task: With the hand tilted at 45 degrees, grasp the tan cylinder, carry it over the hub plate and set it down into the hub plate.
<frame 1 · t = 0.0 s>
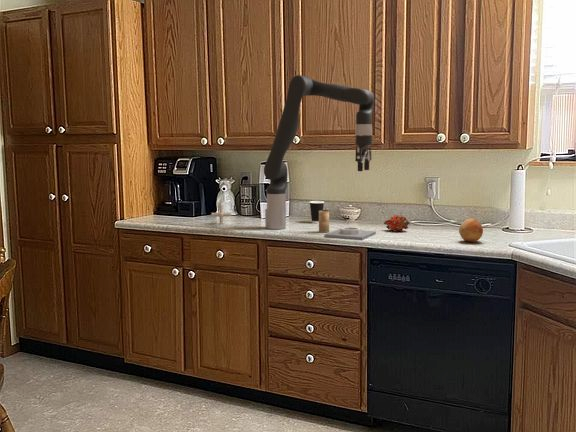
hand: (363, 170, 272), 29 cm above the countertop, tool pointing down, fingers open, 8 cm apart
hub plate: (350, 235, 273), on the countertop
pipe connector: (221, 224, 312), on the countertop
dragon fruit: (396, 231, 285), on the countertop
onion: (470, 242, 255), on the countertop
tan cylinder: (323, 232, 284), on the countertop
dixie cup: (316, 223, 315), on the countertop
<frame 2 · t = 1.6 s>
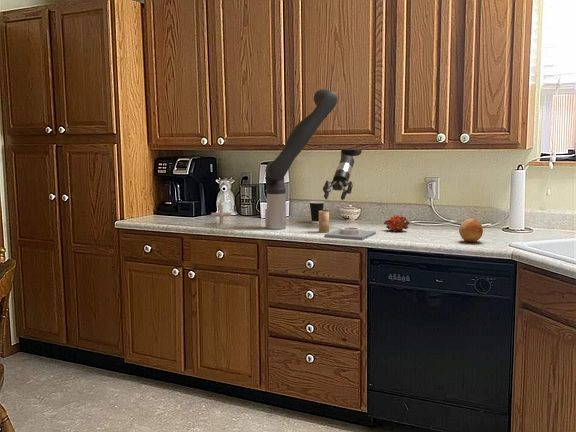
hand: (333, 198, 292), 15 cm above the countertop, tool tilted 45°, fingers open, 8 cm apart
nothing on the countertop moved.
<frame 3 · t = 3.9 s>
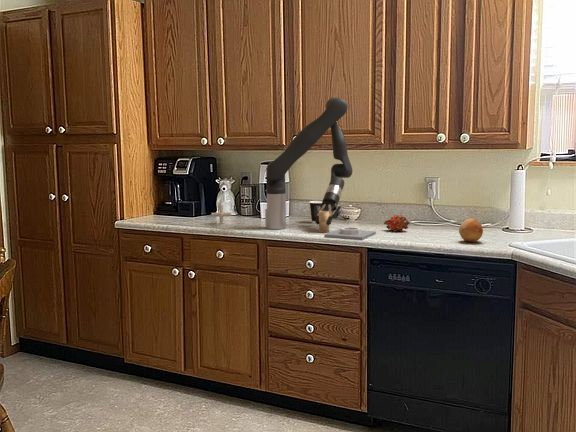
hand: (322, 223, 282), 4 cm above the countertop, tool tilted 45°, fingers closed on tan cylinder, 5 cm apart
tan cylinder: (323, 232, 284), on the countertop, touching gripper
everything else where it was.
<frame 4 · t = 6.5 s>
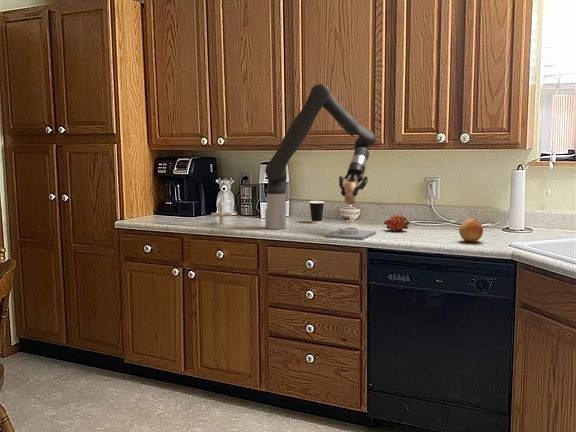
hand: (348, 195, 270), 19 cm above the countertop, tool tilted 45°, fingers closed on tan cylinder, 4 cm apart
tan cylinder: (350, 203, 273), point 14 cm above the countertop, touching gripper
everything else where it was.
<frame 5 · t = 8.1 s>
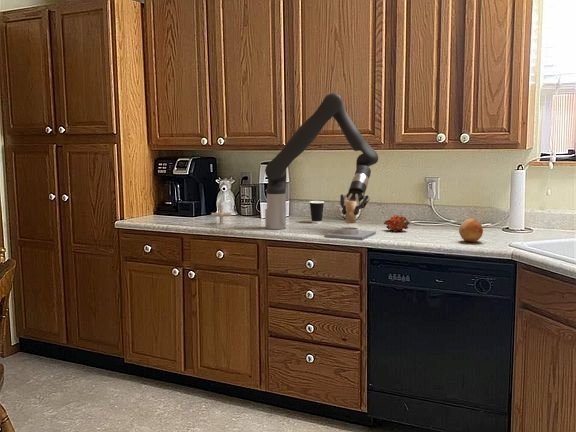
hand: (349, 213, 270), 10 cm above the countertop, tool tilted 45°, fingers closed on tan cylinder, 4 cm apart
tan cylinder: (351, 222, 273), point 6 cm above the countertop, touching gripper
everything else where it was.
when the fingers open (8 cm above the countertop, at t = 9.1 s): tan cylinder drops 2 cm, resting on hub plate.
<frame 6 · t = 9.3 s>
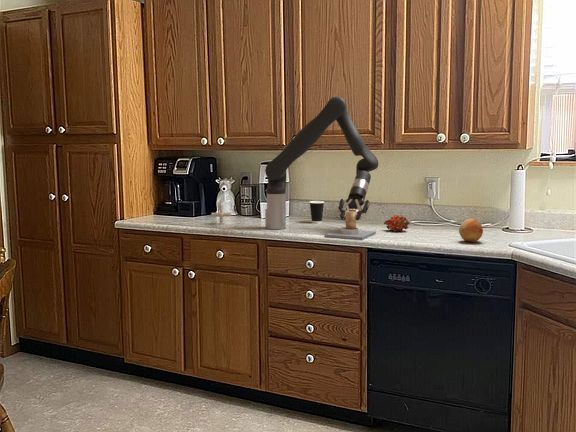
hand: (349, 218, 271), 8 cm above the countertop, tool tilted 45°, fingers open, 6 cm apart
tan cylinder: (350, 232, 273), point 1 cm above the countertop, touching hub plate
everything else where it was.
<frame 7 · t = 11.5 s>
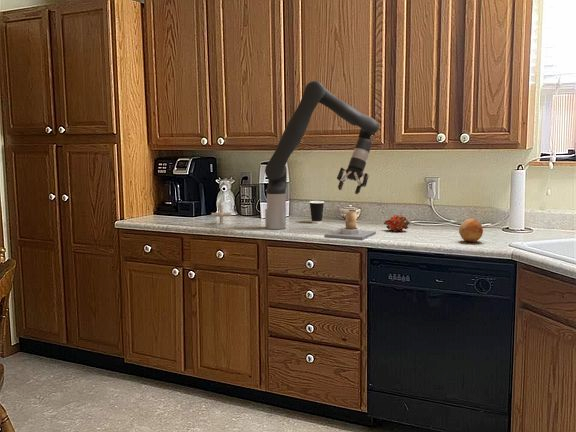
hand: (347, 191, 281), 19 cm above the countertop, tool tilted 25°, fingers open, 8 cm apart
nothing on the countertop moved.
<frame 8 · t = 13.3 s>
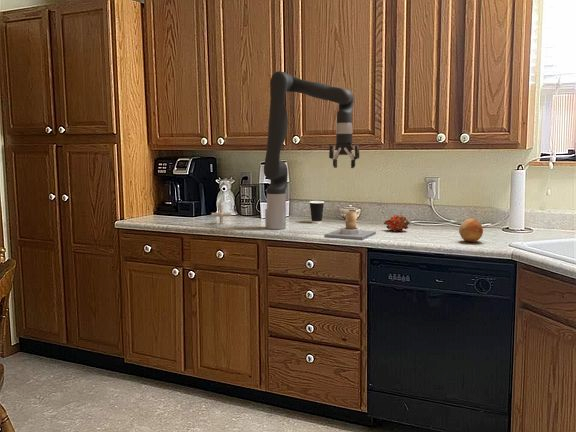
hand: (344, 168, 281), 30 cm above the countertop, tool pointing down, fingers open, 8 cm apart
nothing on the countertop moved.
at the end: tan cylinder 0.2 cm off-centre on the hub plate, point 1.2 cm above the hub plate's base; tan cylinder tilted 0°; the gripper is holding nothing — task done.
